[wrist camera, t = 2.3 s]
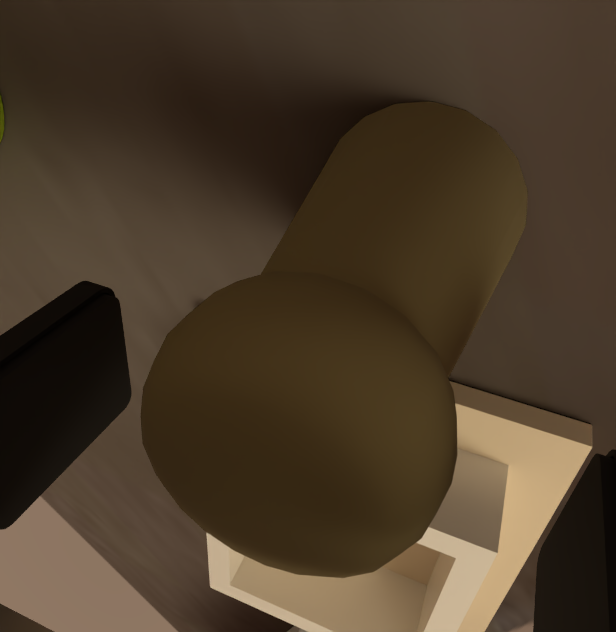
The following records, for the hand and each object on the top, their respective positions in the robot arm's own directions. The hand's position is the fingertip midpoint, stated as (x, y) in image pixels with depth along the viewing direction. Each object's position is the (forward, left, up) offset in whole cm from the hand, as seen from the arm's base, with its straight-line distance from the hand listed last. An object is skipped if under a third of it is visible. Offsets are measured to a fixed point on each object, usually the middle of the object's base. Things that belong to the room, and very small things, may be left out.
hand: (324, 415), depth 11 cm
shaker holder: (+12, 0, -8) cm, 15 cm away
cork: (-1, 0, -8) cm, 8 cm away
